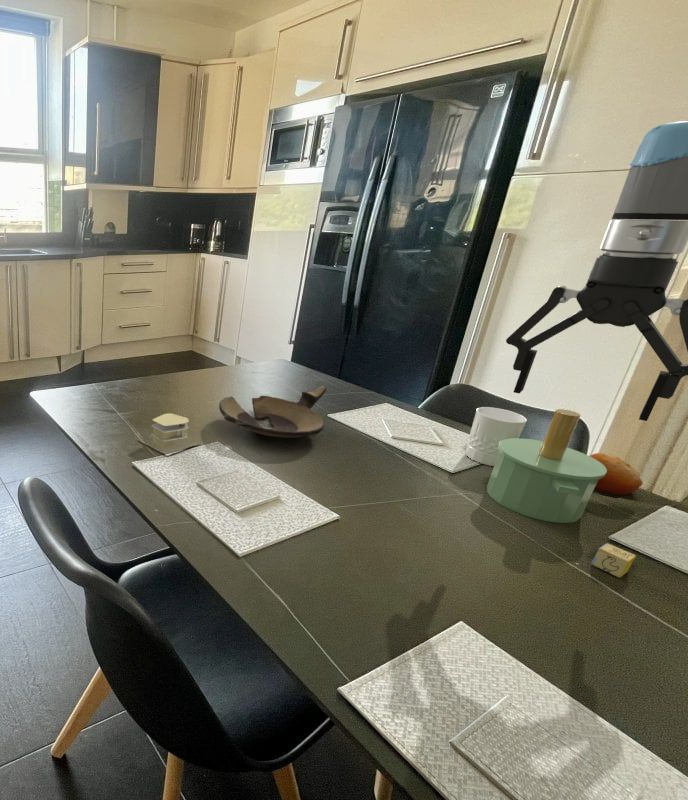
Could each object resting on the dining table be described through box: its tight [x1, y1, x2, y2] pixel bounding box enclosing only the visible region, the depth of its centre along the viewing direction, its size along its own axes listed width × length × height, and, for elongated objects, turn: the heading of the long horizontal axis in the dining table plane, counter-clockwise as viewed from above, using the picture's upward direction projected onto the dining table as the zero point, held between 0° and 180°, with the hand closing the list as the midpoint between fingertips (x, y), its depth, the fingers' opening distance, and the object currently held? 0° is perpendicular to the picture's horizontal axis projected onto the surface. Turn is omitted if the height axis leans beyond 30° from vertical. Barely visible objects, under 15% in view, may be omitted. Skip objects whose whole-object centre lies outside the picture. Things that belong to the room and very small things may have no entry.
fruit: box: [589, 452, 644, 499], centre depth 88 cm, size 8×8×8 cm
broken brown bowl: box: [218, 385, 328, 438], centre depth 111 cm, size 22×30×8 cm
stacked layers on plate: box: [150, 412, 190, 448], centre depth 104 cm, size 10×9×6 cm
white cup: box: [465, 406, 528, 467], centre depth 98 cm, size 8×8×10 cm
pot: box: [486, 452, 599, 524], centre depth 84 cm, size 13×18×8 cm
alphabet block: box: [590, 542, 637, 579], centre depth 69 cm, size 3×3×3 cm
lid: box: [498, 408, 607, 480], centre depth 81 cm, size 14×14×9 cm
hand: (576, 403), depth 72 cm, fingers open, 13 cm apart
